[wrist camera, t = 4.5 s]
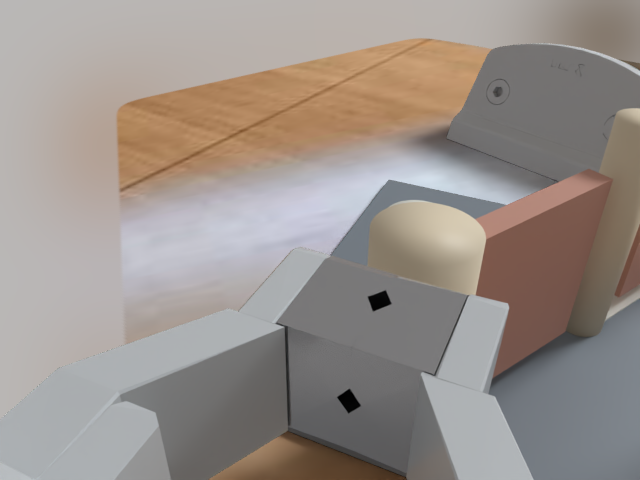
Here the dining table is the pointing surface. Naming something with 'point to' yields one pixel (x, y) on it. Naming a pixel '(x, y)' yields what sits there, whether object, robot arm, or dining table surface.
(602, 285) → the fixed fence
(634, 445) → the board
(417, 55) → the dining table surface
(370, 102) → the dining table surface
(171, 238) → the dining table surface
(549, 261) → the swing panel
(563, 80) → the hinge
